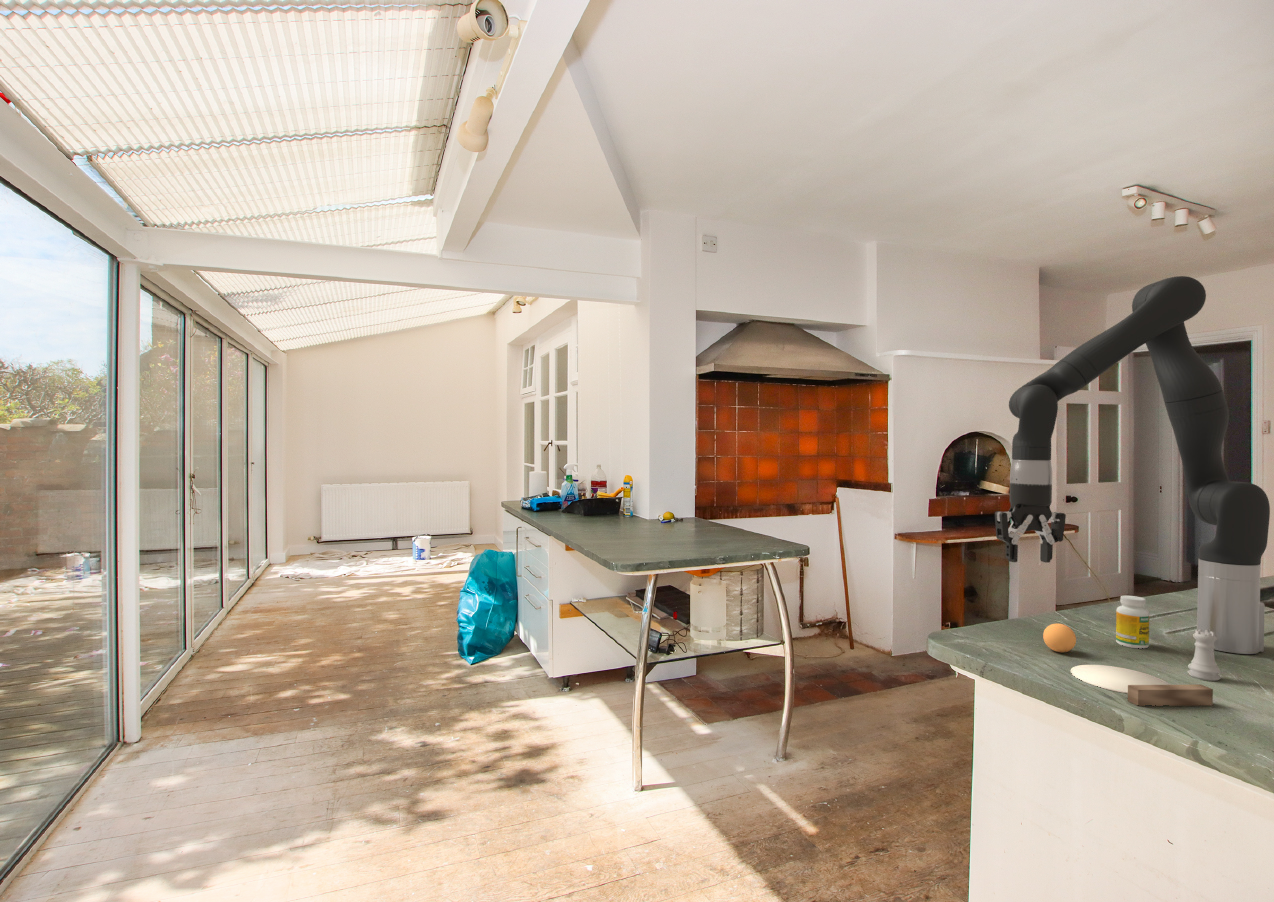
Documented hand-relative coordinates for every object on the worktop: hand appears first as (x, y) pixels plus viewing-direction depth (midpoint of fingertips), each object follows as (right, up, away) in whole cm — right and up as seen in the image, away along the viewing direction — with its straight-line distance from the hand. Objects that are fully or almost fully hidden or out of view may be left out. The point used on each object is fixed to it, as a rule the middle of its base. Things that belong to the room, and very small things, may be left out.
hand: (1028, 561), depth 136 cm
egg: (0, -13, -9) cm, 16 cm away
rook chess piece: (+17, -16, -23) cm, 33 cm away
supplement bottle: (+18, -16, -4) cm, 25 cm away
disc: (+1, -16, -24) cm, 29 cm away
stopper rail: (+1, -16, -34) cm, 38 cm away
